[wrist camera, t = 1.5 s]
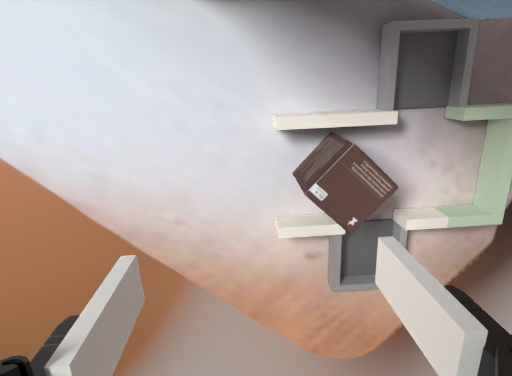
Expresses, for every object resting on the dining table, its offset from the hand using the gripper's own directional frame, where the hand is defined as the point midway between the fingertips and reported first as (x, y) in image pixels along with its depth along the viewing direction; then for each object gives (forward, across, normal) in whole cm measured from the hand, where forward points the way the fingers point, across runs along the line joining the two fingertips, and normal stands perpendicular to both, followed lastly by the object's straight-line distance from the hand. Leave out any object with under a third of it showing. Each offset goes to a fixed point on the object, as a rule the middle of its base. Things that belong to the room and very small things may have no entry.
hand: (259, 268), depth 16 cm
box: (+19, +9, 0) cm, 21 cm away
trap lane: (+18, +15, 0) cm, 24 cm away
